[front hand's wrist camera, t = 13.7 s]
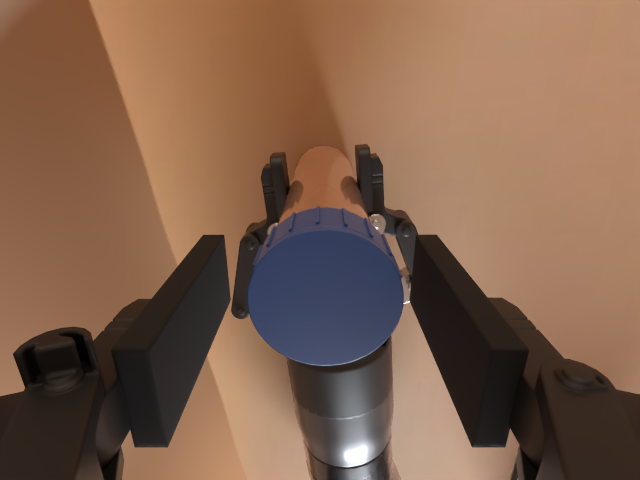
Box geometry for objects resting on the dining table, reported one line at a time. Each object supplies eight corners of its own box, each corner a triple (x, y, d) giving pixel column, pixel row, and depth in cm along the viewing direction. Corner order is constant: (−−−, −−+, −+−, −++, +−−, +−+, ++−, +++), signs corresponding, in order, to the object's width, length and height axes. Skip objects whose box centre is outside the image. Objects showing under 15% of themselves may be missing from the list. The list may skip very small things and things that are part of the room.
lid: (228, 256, 13) (211, 287, 11) (343, 176, 12) (347, 193, 10) (309, 348, 15) (307, 390, 13) (418, 284, 14) (435, 318, 12)
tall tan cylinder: (285, 167, 29) (230, 282, 12) (330, 133, 28) (342, 205, 11) (317, 210, 30) (310, 370, 13) (362, 180, 29) (418, 309, 12)
